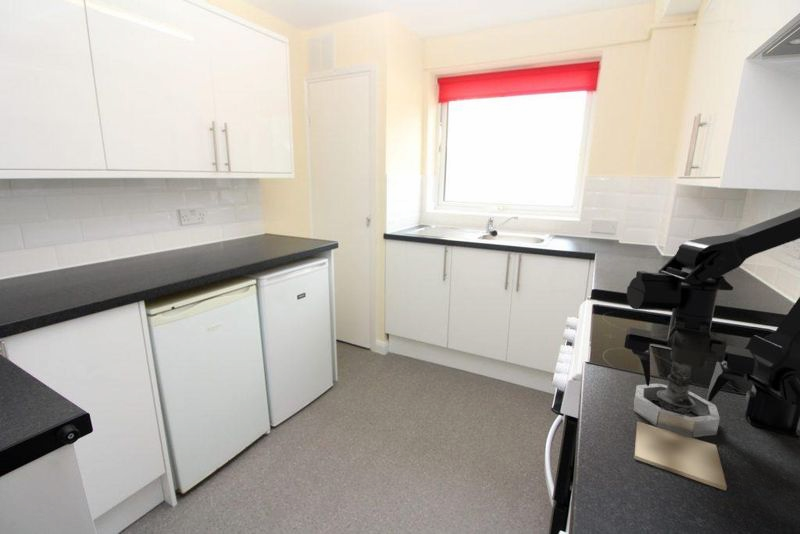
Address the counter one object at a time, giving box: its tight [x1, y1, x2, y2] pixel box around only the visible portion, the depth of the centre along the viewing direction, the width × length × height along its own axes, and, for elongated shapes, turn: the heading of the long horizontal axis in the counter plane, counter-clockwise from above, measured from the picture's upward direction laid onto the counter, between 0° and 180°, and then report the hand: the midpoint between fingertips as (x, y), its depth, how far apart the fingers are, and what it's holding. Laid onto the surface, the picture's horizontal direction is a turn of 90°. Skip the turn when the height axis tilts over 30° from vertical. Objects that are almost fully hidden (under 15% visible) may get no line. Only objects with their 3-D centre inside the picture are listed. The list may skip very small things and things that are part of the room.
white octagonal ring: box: [633, 383, 721, 438], centre depth 71 cm, size 12×12×3 cm
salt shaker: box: [657, 361, 695, 416], centre depth 70 cm, size 6×6×12 cm
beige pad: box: [633, 421, 728, 491], centre depth 60 cm, size 11×11×1 cm
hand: (677, 392), depth 70 cm, fingers open, 9 cm apart
